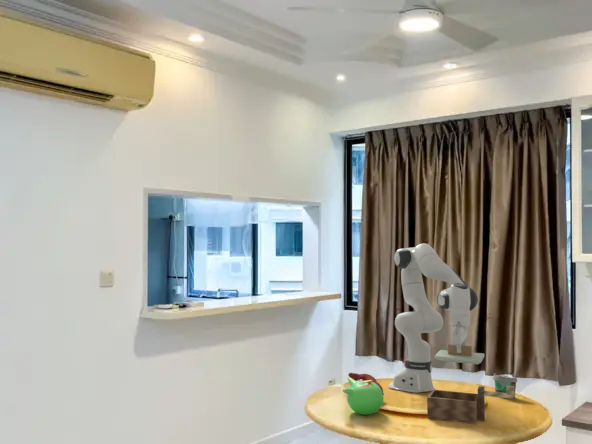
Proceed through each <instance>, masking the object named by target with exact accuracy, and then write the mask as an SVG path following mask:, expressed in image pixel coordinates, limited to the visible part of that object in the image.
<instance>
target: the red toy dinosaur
mask: <svg viewBox="0 0 592 444" xmlns="http://www.w3.org/2000/svg"><path fill="white" fill-rule="evenodd" d="M348 377H350V378H352V379H353V380H355V381H357V382H359V381H367V380H372V381H371V382H374V383H375V384H377V385H378V386H379V387H380V389H381V390H382V393H383V396H384V395H385V394H384V389H383V387H382V385H381V384H380V383H379V382H377V379H376V378H375V377H374V376H373V375H371V374H367V373H357V372H349V373H348Z"/></svg>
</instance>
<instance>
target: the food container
mask: <svg viewBox="0 0 592 444" xmlns="http://www.w3.org/2000/svg"><path fill="white" fill-rule="evenodd" d="M492 380H493V381H494V388H495V389H494V390H495V391H494V392H503V393H506V387H507V386H514V388H515V391H516V388H517V383H518V378H517V377H516V376H515V377H510V376H507V375H498V374H497V372H495V373H493V377H492ZM499 398H501V397H499Z"/></svg>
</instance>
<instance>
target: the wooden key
mask: <svg viewBox="0 0 592 444" xmlns="http://www.w3.org/2000/svg"><path fill="white" fill-rule="evenodd" d="M483 396H485V397H493V398H500V397H501V398H502V399H513V400H514V399H515V398H516V390H515V388H514V386H507V387H506V393H503V392H496V391H492V390H491V391H490V390H484V391H483Z"/></svg>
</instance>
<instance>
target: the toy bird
mask: <svg viewBox="0 0 592 444" xmlns="http://www.w3.org/2000/svg"><path fill="white" fill-rule="evenodd" d="M347 381H348V383H349V385H350V387H348V388H343V389H342V392H343V393H345V394H346V401H347V404H348V406H349V408H350V409H351V410H352V411H353V412H354V413H357V414H359V415H366V416H367V415H371V414H375V413H376V412H378V411H379V410H380V409H381V408H382V406H383V403H384V395H383V393H384V392H383V393H382V390H381V389H380V387H379V386H378V385H377V384H375V383H374V382H371V381H372V380H367V381H363V380H359V381H355V380H353V379H352V378H350V377H349V376H348V378H347Z"/></svg>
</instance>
